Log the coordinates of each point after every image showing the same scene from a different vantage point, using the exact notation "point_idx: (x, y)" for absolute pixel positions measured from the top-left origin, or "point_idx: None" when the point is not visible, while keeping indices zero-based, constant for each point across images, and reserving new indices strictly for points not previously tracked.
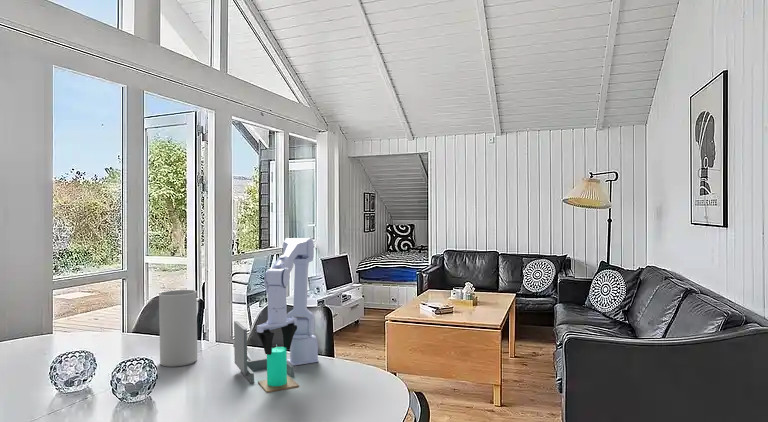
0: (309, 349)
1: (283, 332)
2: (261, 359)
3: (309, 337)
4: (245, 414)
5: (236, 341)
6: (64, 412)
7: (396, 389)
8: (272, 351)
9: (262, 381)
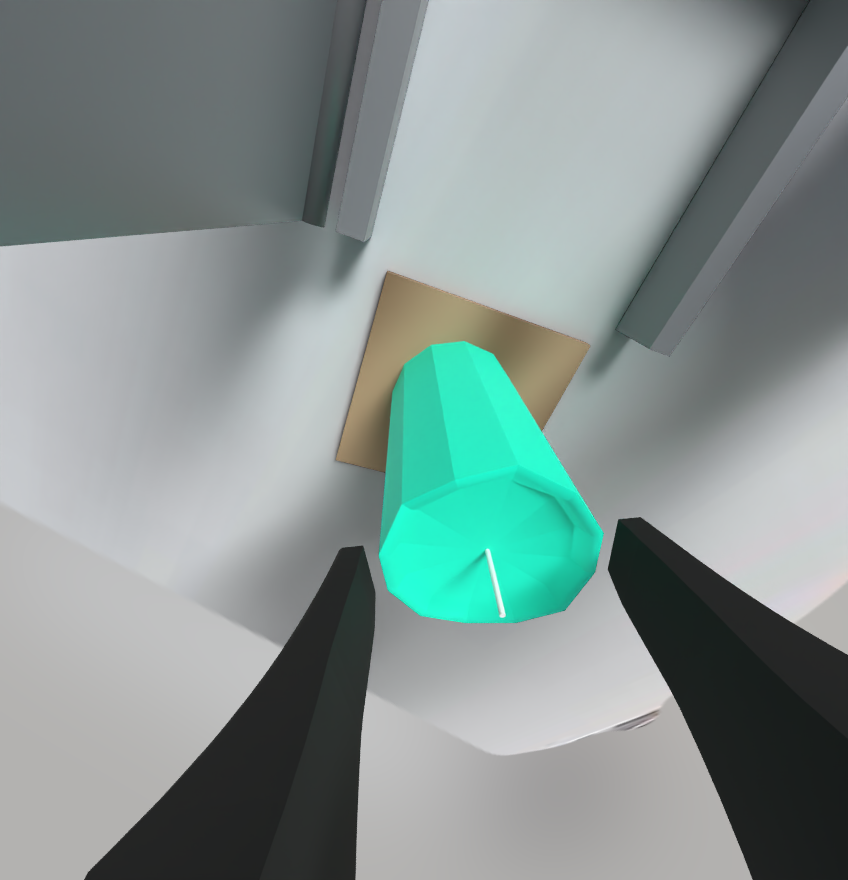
0: None
1: (784, 715)
2: None
3: None
4: (158, 576)
5: None
6: None
7: (659, 689)
8: (441, 542)
9: (407, 301)
